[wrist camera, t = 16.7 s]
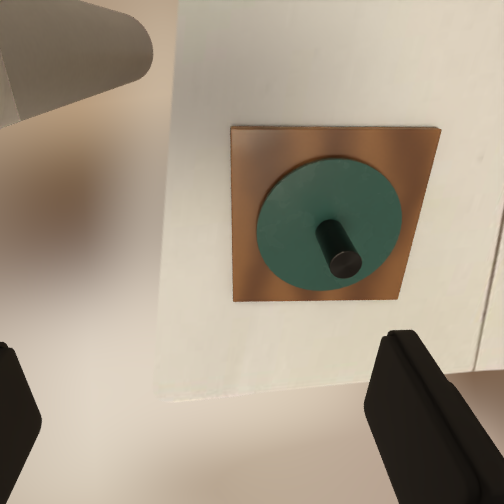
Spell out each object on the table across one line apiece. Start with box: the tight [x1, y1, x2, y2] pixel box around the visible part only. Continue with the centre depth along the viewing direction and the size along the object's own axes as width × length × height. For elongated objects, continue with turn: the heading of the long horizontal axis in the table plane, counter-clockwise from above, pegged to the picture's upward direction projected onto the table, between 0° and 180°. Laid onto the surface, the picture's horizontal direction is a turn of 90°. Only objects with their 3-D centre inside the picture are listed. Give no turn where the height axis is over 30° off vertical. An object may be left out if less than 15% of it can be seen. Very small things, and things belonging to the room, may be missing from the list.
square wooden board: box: [230, 126, 441, 302], centre depth 35 cm, size 18×18×1 cm
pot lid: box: [256, 158, 402, 291], centre depth 32 cm, size 14×14×7 cm
